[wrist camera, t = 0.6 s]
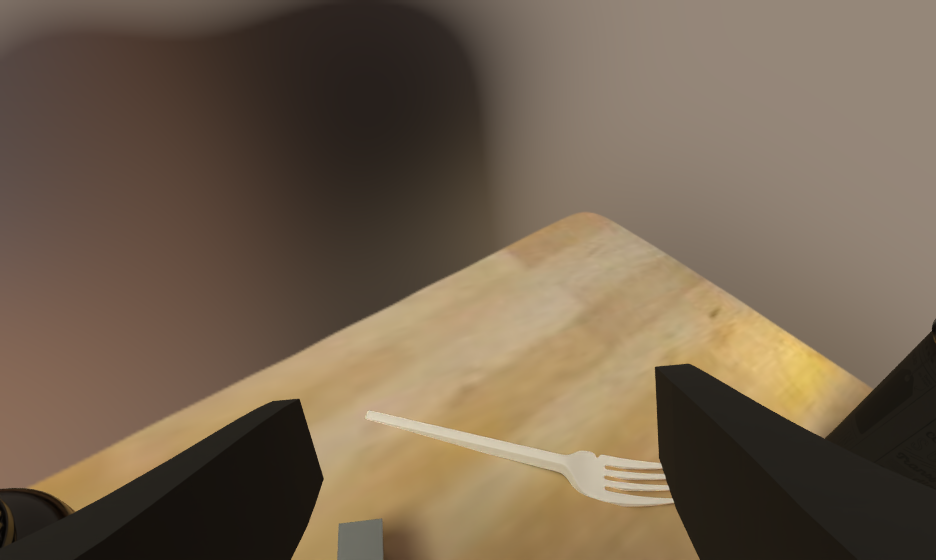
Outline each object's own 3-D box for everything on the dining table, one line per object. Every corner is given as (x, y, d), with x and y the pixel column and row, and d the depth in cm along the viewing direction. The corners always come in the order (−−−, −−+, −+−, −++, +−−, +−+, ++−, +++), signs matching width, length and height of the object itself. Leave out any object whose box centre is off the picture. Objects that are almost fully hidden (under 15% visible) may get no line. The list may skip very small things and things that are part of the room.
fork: (373, 400, 33) (372, 384, 31) (662, 471, 31) (673, 457, 29) (355, 442, 30) (353, 426, 29) (667, 521, 28) (679, 509, 27)
